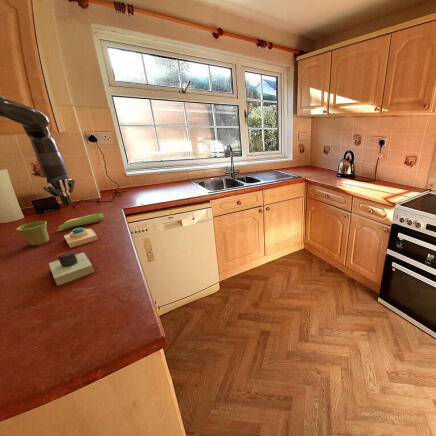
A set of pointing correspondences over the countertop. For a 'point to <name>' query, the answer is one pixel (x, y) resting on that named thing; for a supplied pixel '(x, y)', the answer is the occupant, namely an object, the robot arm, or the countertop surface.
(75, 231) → the button
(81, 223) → the green cucumber
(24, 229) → the plant pot
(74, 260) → the dial
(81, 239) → the button box
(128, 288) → the countertop surface
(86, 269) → the panel
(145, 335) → the countertop surface
